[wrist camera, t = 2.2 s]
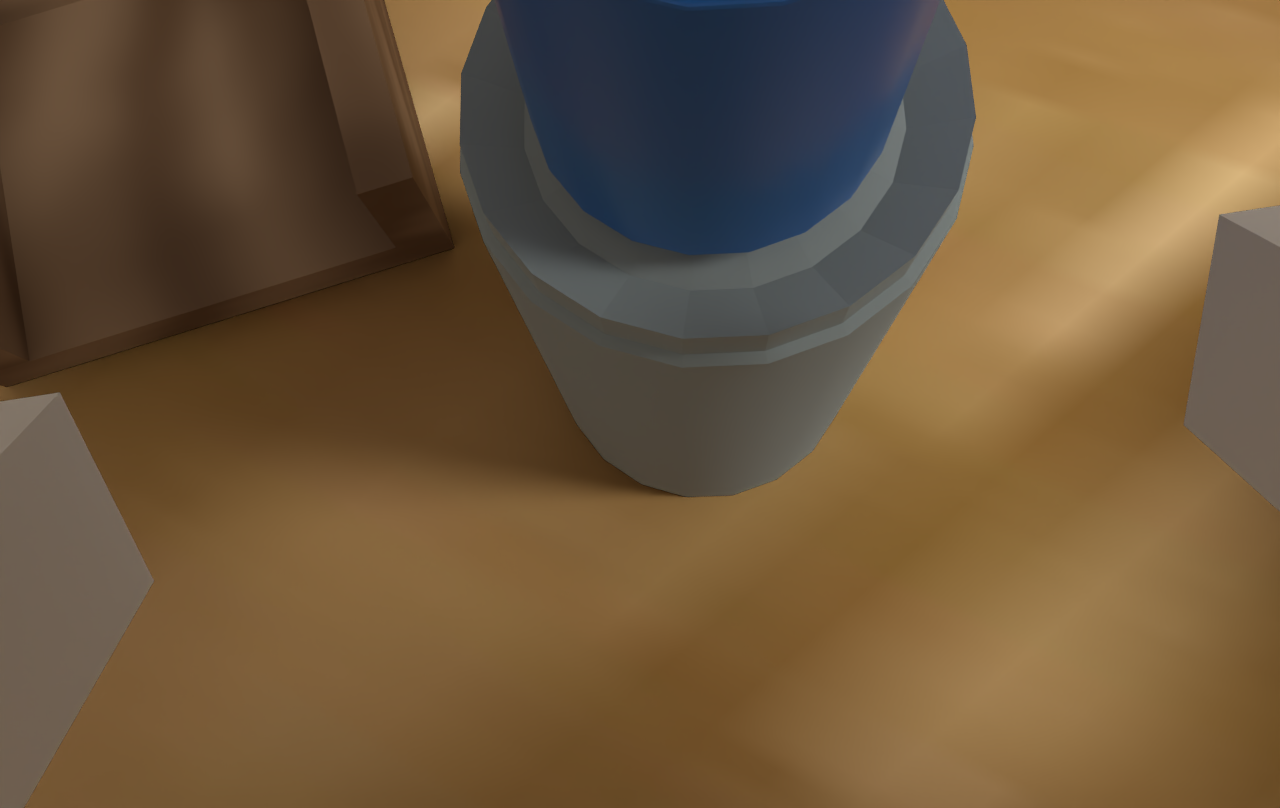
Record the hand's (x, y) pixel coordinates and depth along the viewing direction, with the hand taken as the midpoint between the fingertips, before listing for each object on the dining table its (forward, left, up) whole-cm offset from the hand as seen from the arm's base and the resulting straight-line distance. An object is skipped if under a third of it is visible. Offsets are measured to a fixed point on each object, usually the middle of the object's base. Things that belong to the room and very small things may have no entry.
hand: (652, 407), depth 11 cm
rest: (+11, -19, -18) cm, 28 cm away
